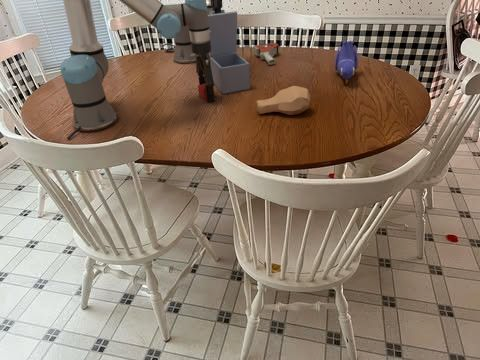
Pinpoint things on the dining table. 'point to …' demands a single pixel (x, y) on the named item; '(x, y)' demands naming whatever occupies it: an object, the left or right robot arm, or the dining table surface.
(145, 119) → the dining table surface
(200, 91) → the block
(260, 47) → the tape dispenser
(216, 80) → the chest
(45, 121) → the dining table surface
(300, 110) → the squash
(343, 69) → the toy
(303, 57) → the dining table surface
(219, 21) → the lid
